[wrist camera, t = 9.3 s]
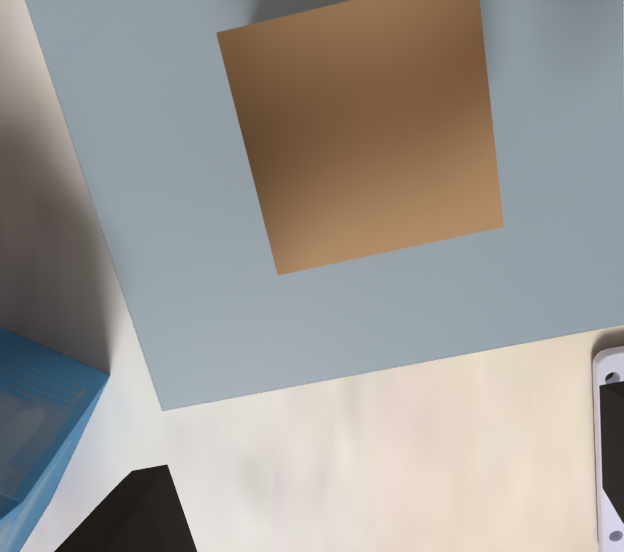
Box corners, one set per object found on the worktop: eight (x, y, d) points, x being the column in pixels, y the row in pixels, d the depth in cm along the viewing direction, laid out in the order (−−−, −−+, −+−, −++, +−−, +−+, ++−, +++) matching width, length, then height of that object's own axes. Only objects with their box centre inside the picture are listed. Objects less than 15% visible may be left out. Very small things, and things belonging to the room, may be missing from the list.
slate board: (616, 317, 18) (626, 324, 18) (166, 401, 19) (162, 411, 18) (605, -262, 13) (619, -279, 13) (-6, -119, 14) (-18, -129, 13)
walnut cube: (444, 189, 16) (503, 226, 11) (284, 224, 16) (277, 275, 12) (418, 12, 15) (476, -31, 10) (242, 53, 15) (215, 32, 10)
